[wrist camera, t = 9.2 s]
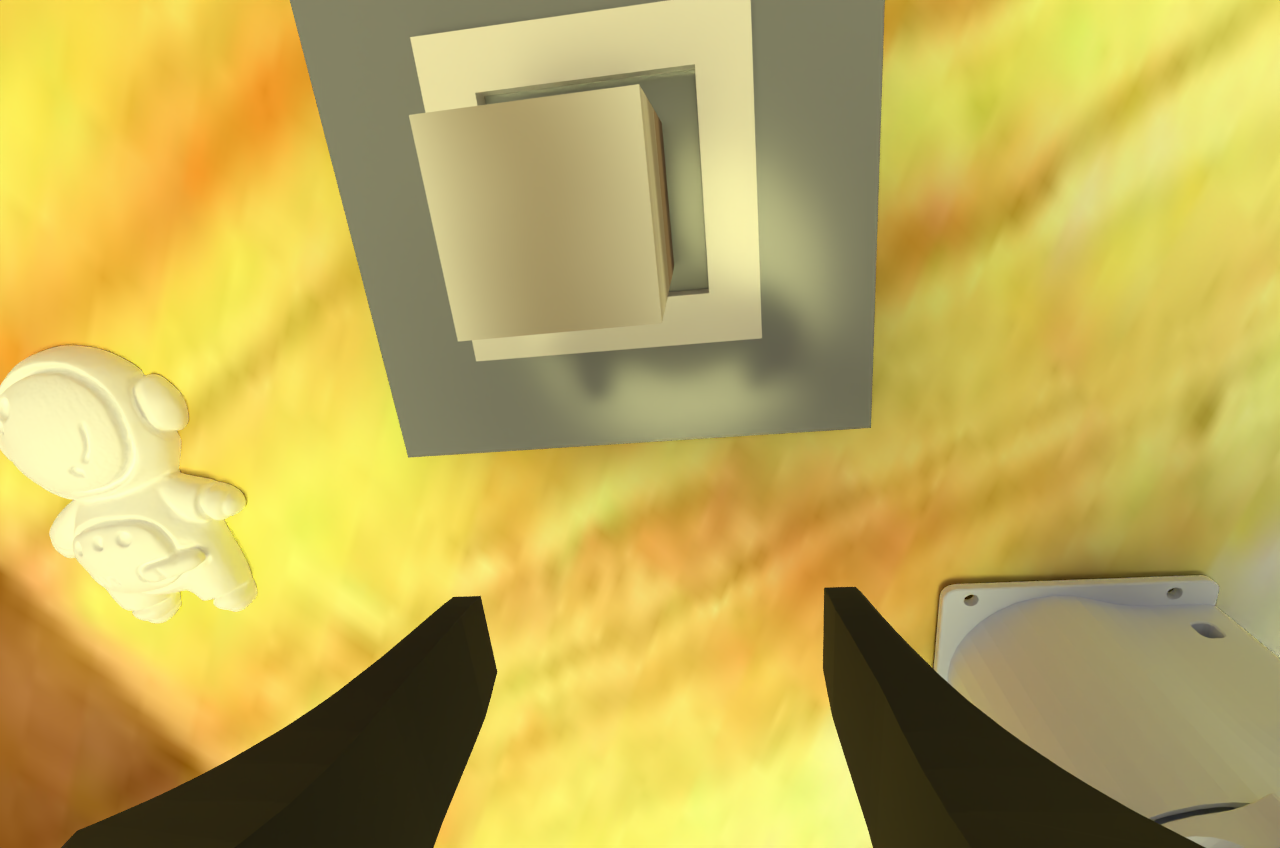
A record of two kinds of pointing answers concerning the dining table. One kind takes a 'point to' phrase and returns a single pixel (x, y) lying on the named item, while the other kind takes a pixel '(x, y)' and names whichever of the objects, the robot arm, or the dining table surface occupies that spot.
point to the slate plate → (698, 204)
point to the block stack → (549, 212)
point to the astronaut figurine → (123, 480)
